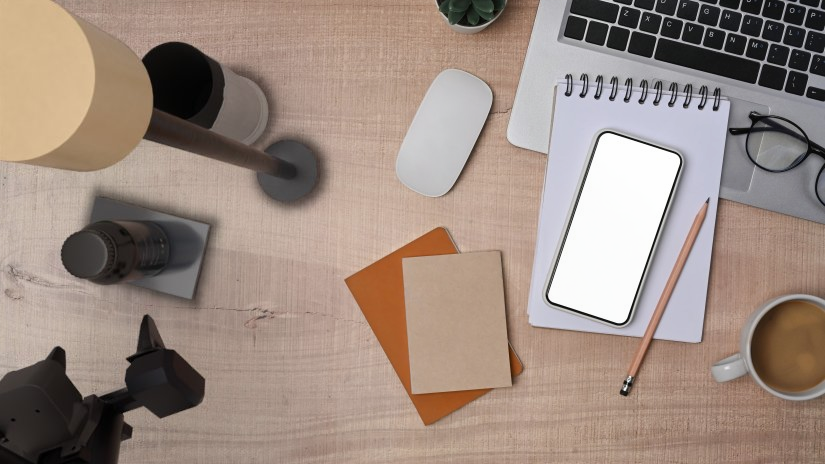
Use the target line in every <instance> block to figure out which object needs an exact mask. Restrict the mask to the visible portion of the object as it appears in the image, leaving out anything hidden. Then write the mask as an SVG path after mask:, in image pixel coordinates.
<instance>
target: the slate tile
mask: <svg viewBox="0 0 825 464" xmlns="http://www.w3.org/2000/svg"><path fill="white" fill-rule="evenodd" d="M99 220H144V221H149V222H151V223H154V224H155V225H157V226H158V227H159V228H161V229H162V231H163V232H164V233H165V235H166V237H167V239H168V242H169V249H170V250H169V257H168V260H167V262H166V264H165V266H164V267H163V268H162V269H161V270H160V271H159V272H158V273H157V274H155V275H153V276H151V277H148V278H144V279H140V280H135V281H129V282H124V283H123V284H128V285H132V286H136V287H140V288H144V289H148V290H152V291H156V292H159V293H163V294H167V295H171V296H175V297H179V298H182V299H186V300H191V301H192V300H194V299H195V295H196V291H197V288H198V287H197V286H198V284H199V279H200V274H201V270H202V266H203V262H204V258H205V253H206V249H207V244H208V241H209V236H210V233H211V228H212V224H210V223H206V222H202V221H198V220H194V219H190V218H186V217H182V216H178V215H175V214H174V215H173V214H170V213H166V212H162V211H158V210H154V209H150V208H147V207H142V206H138V205H135V204H130V203H126V202H122V201H118V200H115V199H111V198H107V197H103V196H99V195H95V197H94V201H93V205H92V210H91V214H90V218H89V222H88V224H90V223H92V222H95V221H99Z"/></svg>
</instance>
